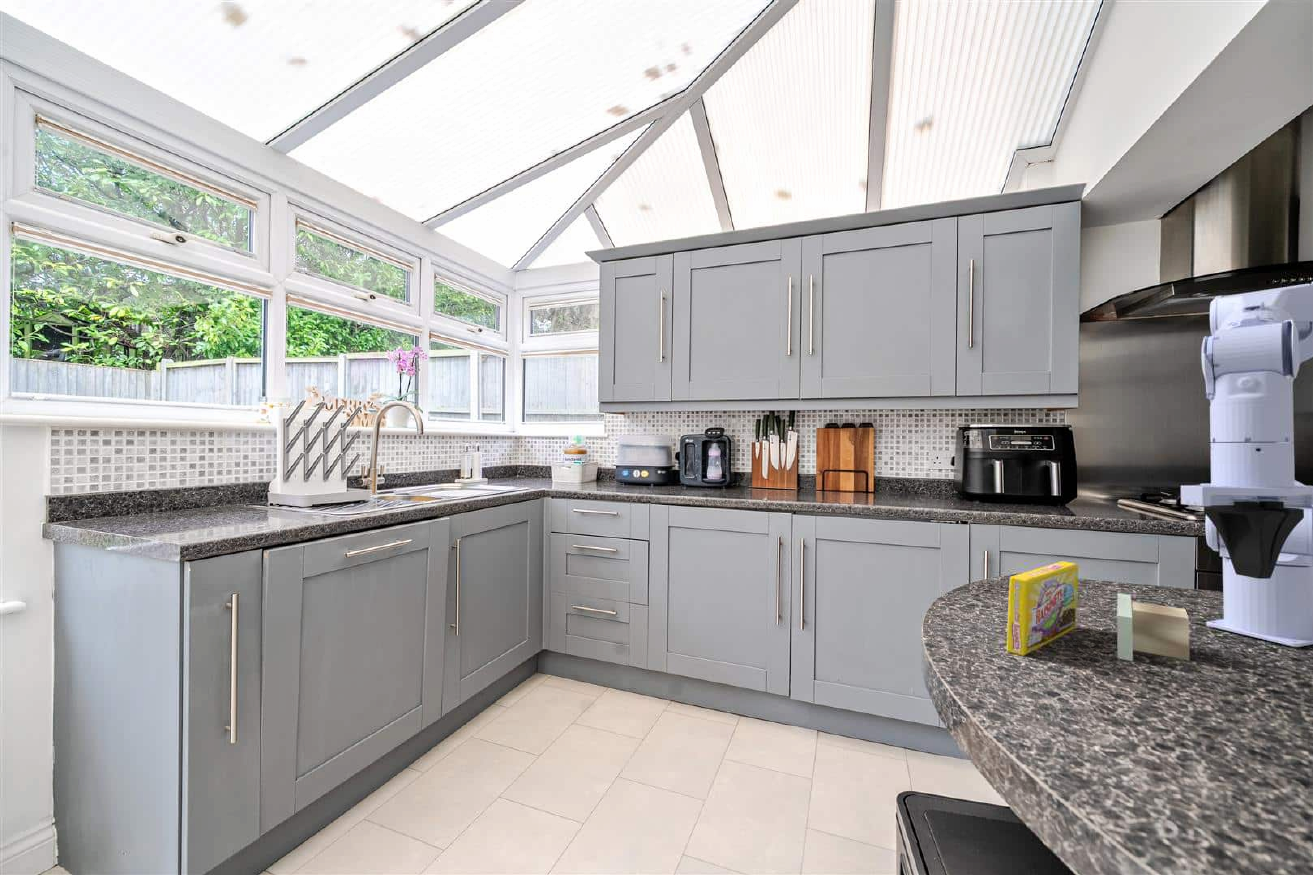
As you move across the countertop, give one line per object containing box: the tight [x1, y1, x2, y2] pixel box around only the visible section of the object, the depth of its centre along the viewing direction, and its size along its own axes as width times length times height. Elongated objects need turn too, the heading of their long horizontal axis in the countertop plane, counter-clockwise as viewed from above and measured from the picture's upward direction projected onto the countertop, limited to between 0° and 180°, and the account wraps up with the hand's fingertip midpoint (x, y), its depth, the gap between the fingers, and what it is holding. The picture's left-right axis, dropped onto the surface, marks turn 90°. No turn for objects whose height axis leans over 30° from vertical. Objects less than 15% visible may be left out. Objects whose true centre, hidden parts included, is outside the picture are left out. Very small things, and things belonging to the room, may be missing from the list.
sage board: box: [1116, 592, 1134, 662], centre depth 61 cm, size 1×12×4 cm, turn 139°
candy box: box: [1006, 560, 1079, 657], centre depth 62 cm, size 16×2×8 cm, turn 126°
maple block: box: [1131, 600, 1190, 661], centre depth 59 cm, size 4×4×4 cm
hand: (1252, 576), depth 54 cm, fingers closed
